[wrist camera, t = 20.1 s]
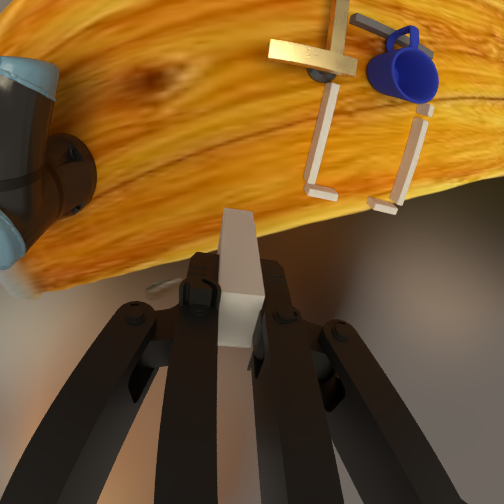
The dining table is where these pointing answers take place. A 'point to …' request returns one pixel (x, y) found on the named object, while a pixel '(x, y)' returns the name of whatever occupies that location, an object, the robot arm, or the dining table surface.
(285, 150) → the dining table surface
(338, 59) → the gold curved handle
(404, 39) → the kerb
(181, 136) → the dining table surface
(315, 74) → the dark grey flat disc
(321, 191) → the beige rectangular bars
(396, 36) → the mug
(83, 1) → the dining table surface
